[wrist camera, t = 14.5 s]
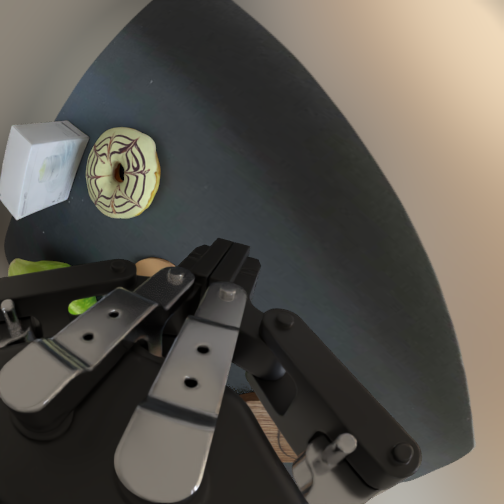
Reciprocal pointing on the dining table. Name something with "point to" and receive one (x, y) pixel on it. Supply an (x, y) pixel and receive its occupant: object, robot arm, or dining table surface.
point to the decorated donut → (135, 175)
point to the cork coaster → (151, 266)
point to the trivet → (269, 428)
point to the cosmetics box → (40, 165)
